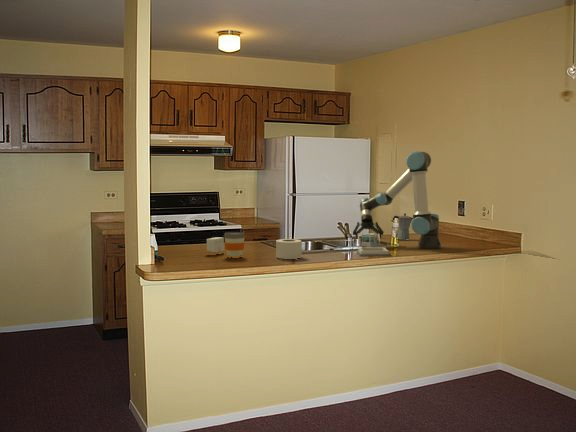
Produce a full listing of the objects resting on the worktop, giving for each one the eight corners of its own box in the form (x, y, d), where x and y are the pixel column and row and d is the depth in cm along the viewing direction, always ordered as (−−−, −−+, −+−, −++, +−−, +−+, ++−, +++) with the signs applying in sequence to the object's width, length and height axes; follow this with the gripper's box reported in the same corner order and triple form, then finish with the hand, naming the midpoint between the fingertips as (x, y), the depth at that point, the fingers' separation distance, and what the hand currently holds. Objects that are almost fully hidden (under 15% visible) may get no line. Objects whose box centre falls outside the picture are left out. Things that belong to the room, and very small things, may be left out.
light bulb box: (370, 251, 408) (370, 234, 407) (361, 250, 411) (361, 234, 410) (377, 249, 417) (377, 233, 416) (367, 248, 420) (368, 232, 419)
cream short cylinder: (306, 258, 379) (306, 240, 378) (287, 260, 368) (287, 242, 368) (289, 255, 390) (289, 238, 389) (270, 257, 380) (270, 240, 379)
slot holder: (385, 251, 405) (385, 247, 404) (390, 256, 386) (390, 251, 385) (356, 251, 405) (356, 247, 404) (359, 256, 386) (359, 251, 385)
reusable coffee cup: (221, 256, 385) (221, 232, 384) (241, 255, 390) (240, 231, 389) (228, 259, 373) (227, 234, 372) (247, 258, 378) (247, 233, 377)
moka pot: (413, 240, 463) (413, 213, 461) (392, 240, 466) (392, 213, 464) (413, 239, 472) (413, 212, 470) (392, 239, 475) (392, 212, 473)
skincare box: (216, 253, 401) (215, 236, 400) (224, 253, 398) (224, 237, 397) (206, 255, 392) (206, 238, 391) (214, 255, 389) (214, 239, 388)
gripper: (384, 221, 429) (387, 245, 415) (347, 221, 429) (349, 245, 415) (385, 214, 423) (388, 238, 409) (348, 214, 423) (350, 238, 409)
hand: (369, 242), depth 412 cm, fingers open, 13 cm apart
